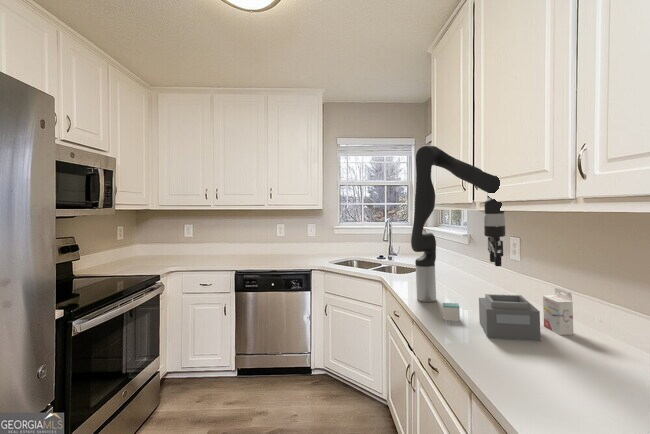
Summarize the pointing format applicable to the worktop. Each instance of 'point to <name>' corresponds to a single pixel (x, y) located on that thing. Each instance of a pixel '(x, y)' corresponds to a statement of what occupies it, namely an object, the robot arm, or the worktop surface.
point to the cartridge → (451, 311)
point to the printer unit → (509, 317)
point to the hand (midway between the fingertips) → (495, 264)
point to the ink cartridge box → (558, 312)
